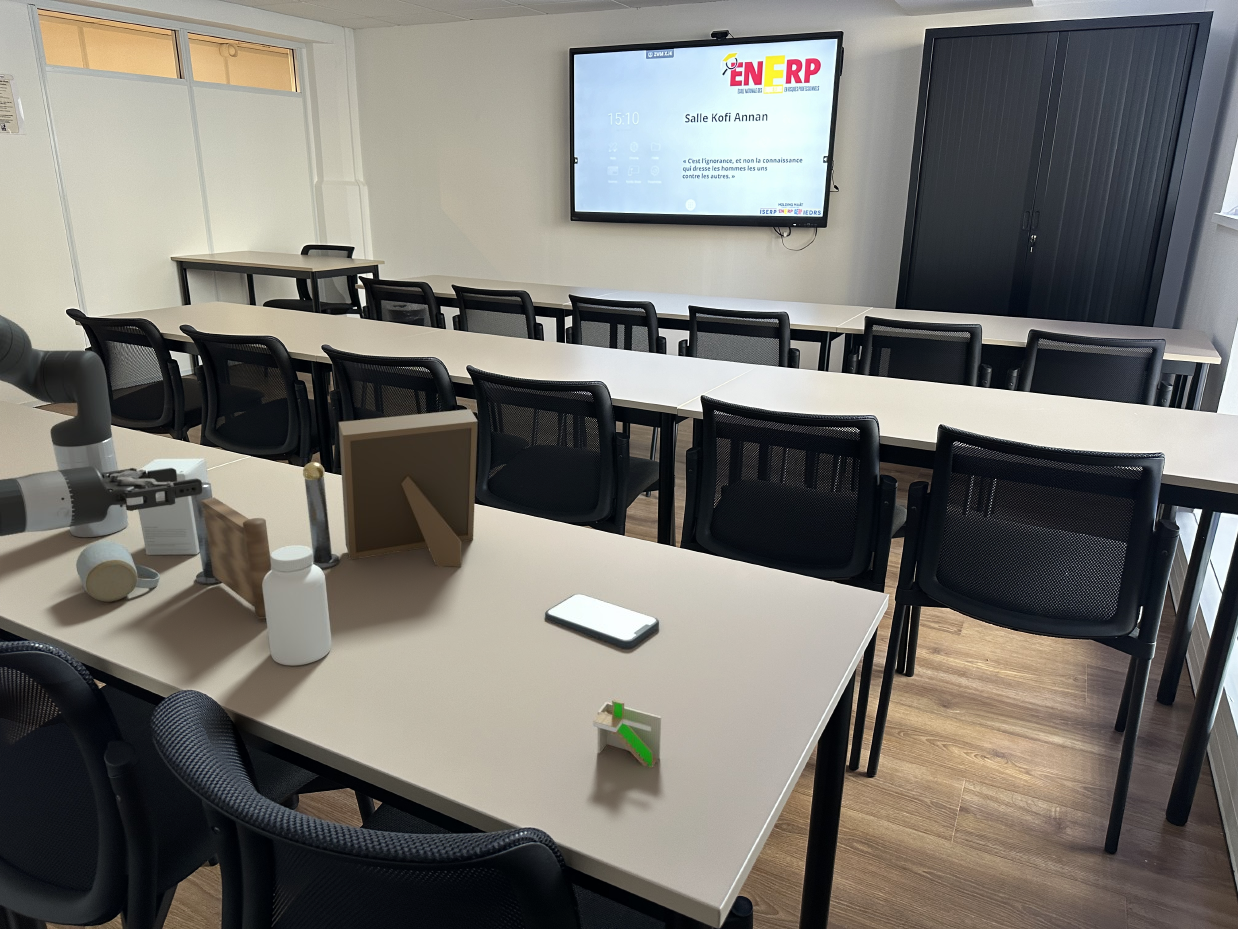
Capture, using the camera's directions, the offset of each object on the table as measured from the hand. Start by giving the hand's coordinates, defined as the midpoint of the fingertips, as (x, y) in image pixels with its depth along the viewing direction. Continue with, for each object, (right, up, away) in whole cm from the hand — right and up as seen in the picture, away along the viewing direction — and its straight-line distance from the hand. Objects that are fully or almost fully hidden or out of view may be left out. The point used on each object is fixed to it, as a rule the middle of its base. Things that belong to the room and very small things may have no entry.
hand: (188, 480), depth 122 cm
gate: (+4, -18, +9) cm, 20 cm away
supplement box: (-16, -12, +29) cm, 35 cm away
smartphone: (+59, -22, +4) cm, 63 cm away
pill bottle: (+18, -24, -5) cm, 30 cm away
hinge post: (-4, -16, +17) cm, 24 cm away
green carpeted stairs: (+63, -32, -25) cm, 75 cm away
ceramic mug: (-17, -18, +12) cm, 27 cm away
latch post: (+12, -14, +23) cm, 29 cm away
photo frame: (+27, -14, +26) cm, 40 cm away
